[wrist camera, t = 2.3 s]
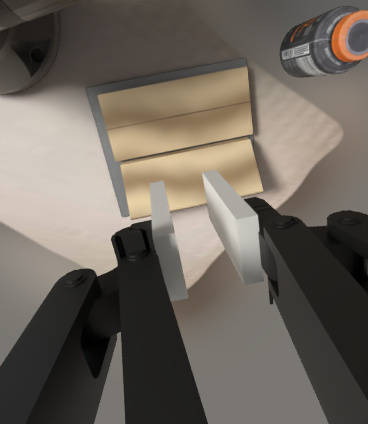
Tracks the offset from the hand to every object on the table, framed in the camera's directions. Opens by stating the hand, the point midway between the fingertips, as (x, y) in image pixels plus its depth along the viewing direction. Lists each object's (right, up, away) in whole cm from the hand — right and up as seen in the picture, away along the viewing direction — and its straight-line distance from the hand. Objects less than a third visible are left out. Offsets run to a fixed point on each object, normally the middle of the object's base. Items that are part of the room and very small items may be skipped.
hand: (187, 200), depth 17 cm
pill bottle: (+14, +19, +21) cm, 32 cm away
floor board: (-1, +12, +22) cm, 25 cm away
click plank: (+1, +4, +23) cm, 23 cm away
